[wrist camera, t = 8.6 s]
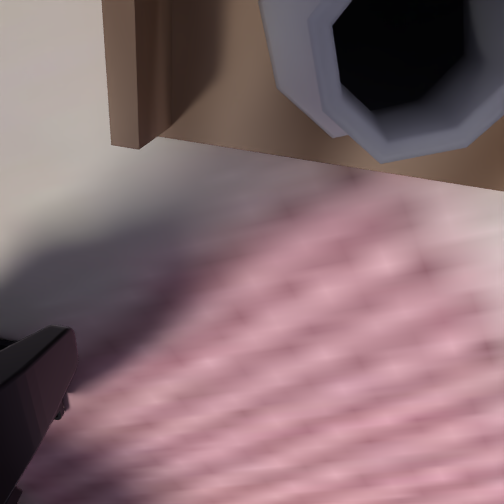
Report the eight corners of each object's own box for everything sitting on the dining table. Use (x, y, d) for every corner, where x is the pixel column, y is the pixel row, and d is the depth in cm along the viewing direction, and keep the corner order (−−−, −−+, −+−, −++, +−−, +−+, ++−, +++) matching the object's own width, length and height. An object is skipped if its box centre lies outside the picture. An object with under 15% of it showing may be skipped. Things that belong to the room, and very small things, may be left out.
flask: (322, 167, 17) (319, 324, 8) (223, -7, 14) (71, -38, 6) (511, 63, 14) (800, 140, 5) (429, -175, 12) (725, -720, 3)
